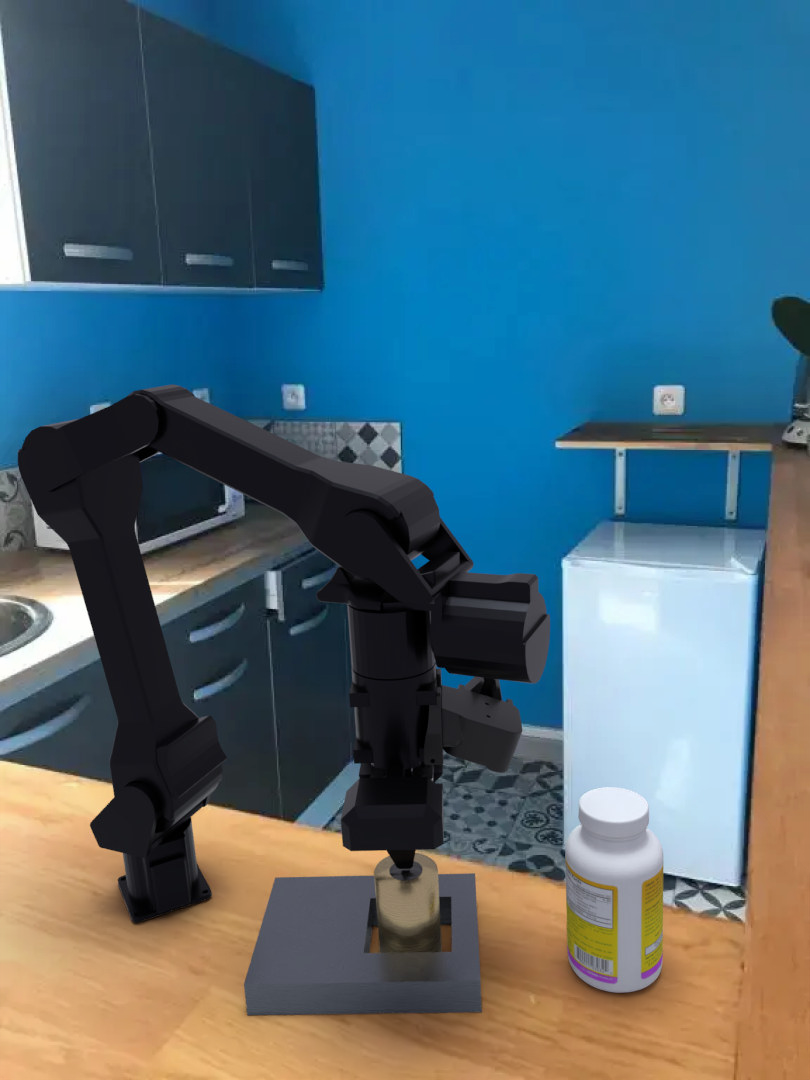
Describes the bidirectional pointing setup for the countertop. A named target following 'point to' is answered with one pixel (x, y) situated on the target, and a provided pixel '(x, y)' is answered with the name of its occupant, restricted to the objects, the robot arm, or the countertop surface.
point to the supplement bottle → (614, 892)
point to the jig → (358, 953)
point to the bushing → (408, 906)
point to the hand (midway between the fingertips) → (405, 866)
